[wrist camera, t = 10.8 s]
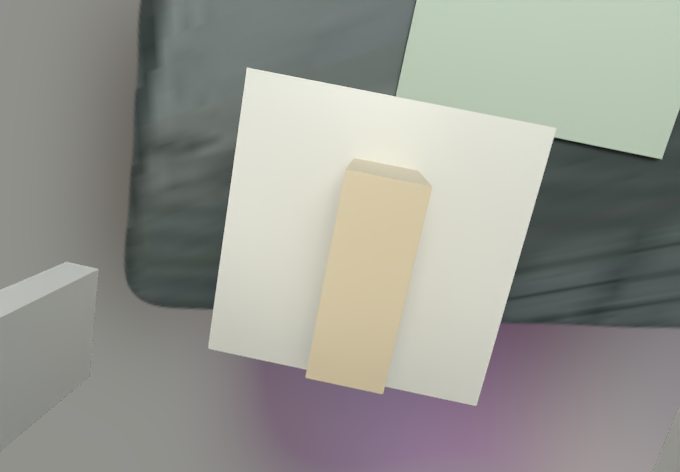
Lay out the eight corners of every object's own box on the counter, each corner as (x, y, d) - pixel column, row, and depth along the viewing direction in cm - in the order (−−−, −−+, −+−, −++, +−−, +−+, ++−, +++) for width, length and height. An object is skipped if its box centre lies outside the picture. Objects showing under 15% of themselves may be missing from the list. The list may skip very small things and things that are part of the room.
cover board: (548, 127, 22) (622, 128, 16) (472, 395, 26) (506, 492, 19) (252, 70, 23) (199, 46, 16) (214, 340, 26) (156, 415, 19)
